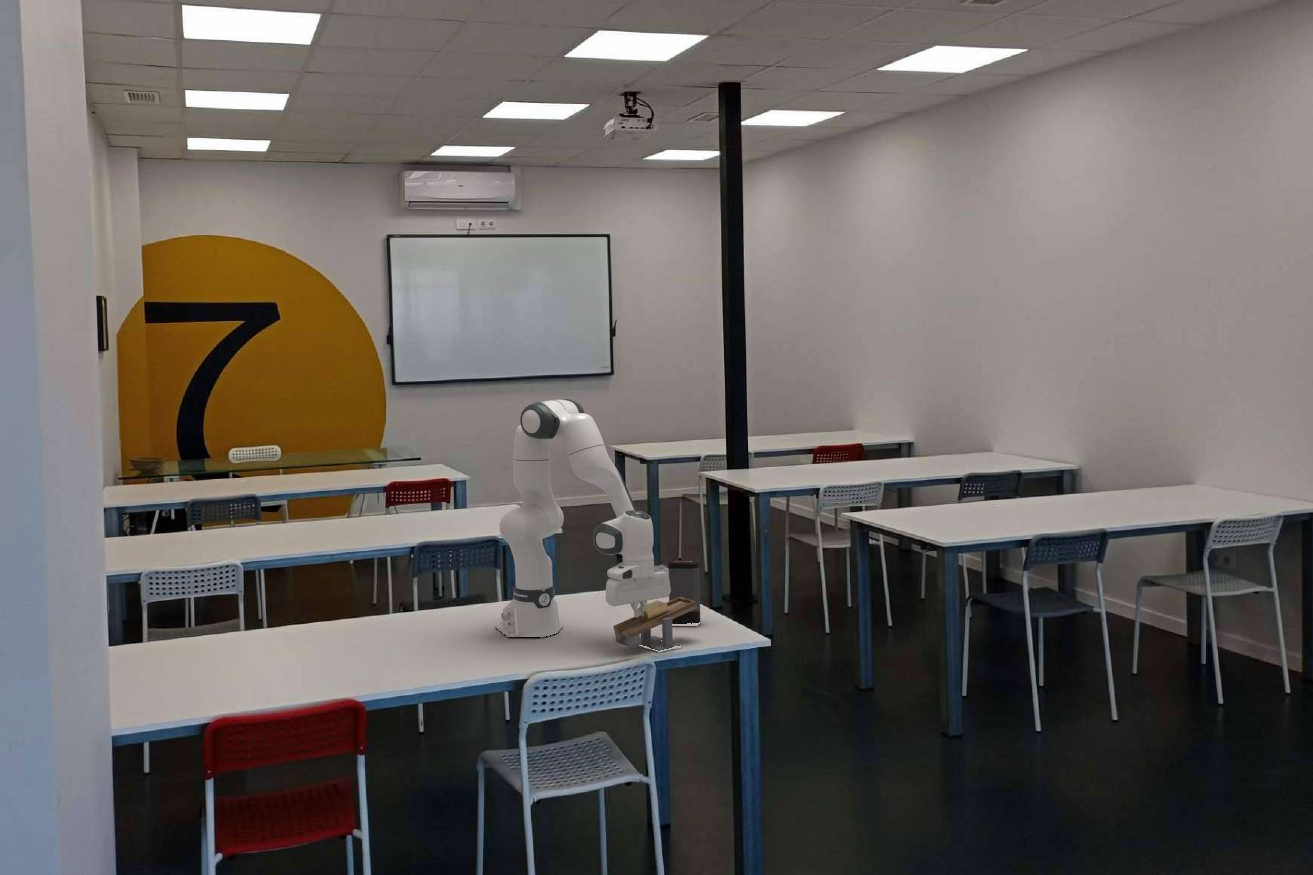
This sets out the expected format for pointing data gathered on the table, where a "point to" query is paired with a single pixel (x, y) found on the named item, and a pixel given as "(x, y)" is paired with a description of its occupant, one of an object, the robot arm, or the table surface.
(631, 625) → the beam
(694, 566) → the electronic device
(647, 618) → the rider
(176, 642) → the table surface
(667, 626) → the stand
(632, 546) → the robot arm
